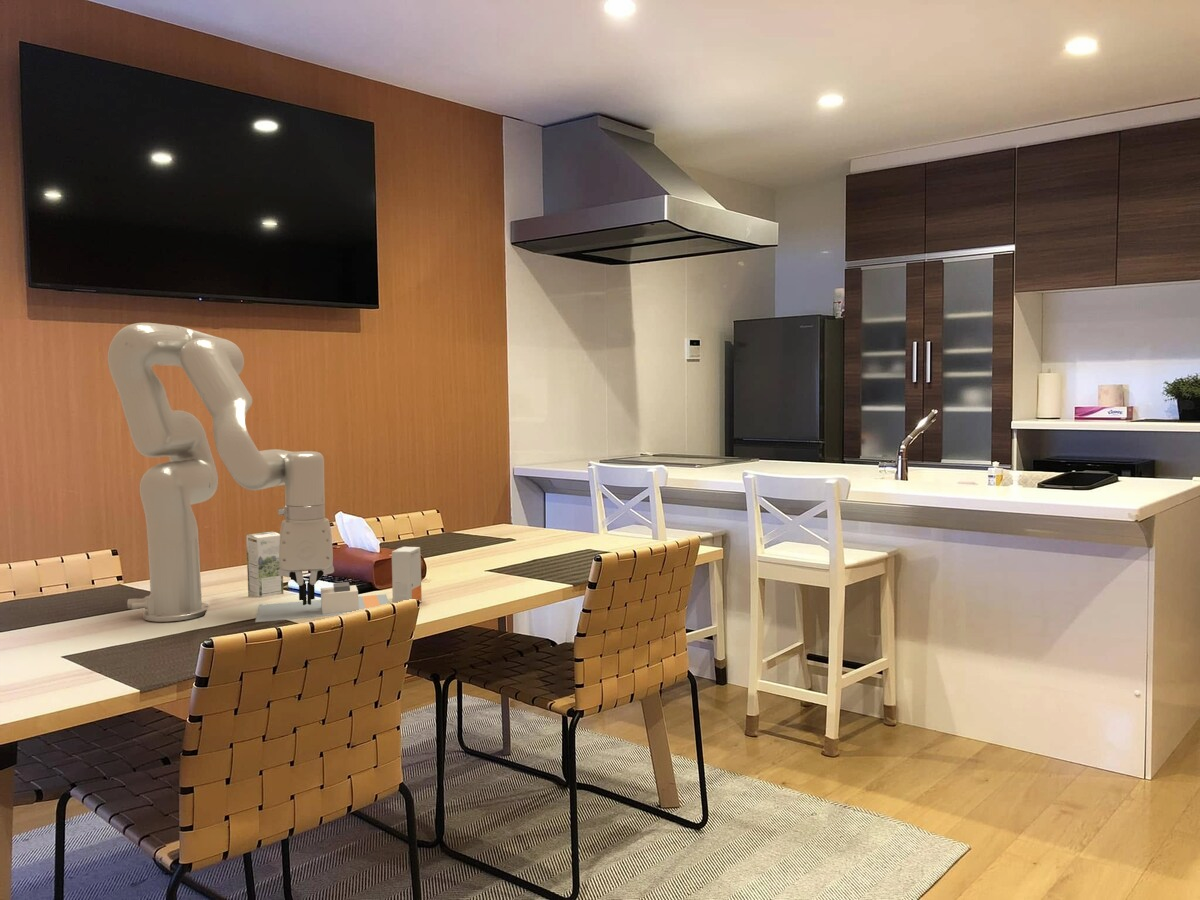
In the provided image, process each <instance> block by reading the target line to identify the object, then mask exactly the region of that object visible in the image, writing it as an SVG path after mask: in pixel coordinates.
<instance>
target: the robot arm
mask: <svg viewBox="0 0 1200 900" xmlns="http://www.w3.org/2000/svg"><path fill="white" fill-rule="evenodd" d="M107 365H108V368H109V369H108V370H109V373H110V375H111V378H112V381H113V383H114V386H115V388H116V390H117V393H118V396H119V399H120V402H121V407H122V410H123V414H124V417H125V420H126V424H127V426H128V430H129V434H130V437H131V439H132V443H133V446H134V447H135V449H136V451H137V452H138V453H139V454H140V455H142V456H144V457H147V458H164V457H168V460H169V462H168V461H167V462H162V463H159V464H155V465H154V466H152V467H150V468H149V469H147V470H146V471H145V472H144V474H143V475H142V477H141V479H140V482H139V496H140V499H141V504H142V508H143V512H144V516H145V524H146V538H147V549H148V552H147V553H148V554H147V555H148V568H149V569H148V571H149V587H150V594H149V595H147V596H144V597H143V598H128V599H127V609H129V610H130V609H132V610H140V609H144V610H145V611H143V613H142V615H143V616H142V617H143V618H142V619H144V620H145V621H147V622H148V621H149V622H155V623H157V622H158V623H159V622H160V623H161V622H163V623H165V622H167V623H168V622H170V623H171V622H178V621H185V620H191V619H195V618H199V617H203V616H205V615H206V613H207V611H208V609H209V608H210V607H211V606H210V604H209V603H205V602H203V601H202V600H203V599H202V582H201V562H200V561H201V560H200V543H199V540H200V539H199V527H198V523H197V522H198V521H197V519H196V516H195V514H194V511H193V508H192V505H195V504H197V505H198V504H200V503H204V502H207V501H208V500H210V499H211V498H212V497H213V496H214V495H215V493H216V492H217V490H218V486H219V476H218V475H219V474H218V471H217V467H216V464H215V460H214V457H213V454H212V451H211V446H210V444H209V441H208V437H207V433H206V431H205V428H204V426H203V424H202V423H201V422H200V420H199V419H198V418H197V417H196V416H195V415H194V414H192V413H190V412H188V411H185V410H181V409H179V410H178V409H176V410H175V409H172V407H171V405H170V401H169V399H168V396H167V391H166V388H165V386H164V384H163V382H162V381H161V379H160V378H159V377H158V375H157V374H156V373H155V372H154V370H153V367H154V366H173V367H180V368H182V370H183V371H184V373H185V374H186V376H187V378H188V379H189V381H190V383H191V385H192V386H193V387H194V389H195V392H196V393H197V395H198V396H199V397H200V399H201V401H202V403H203V404H204V406H205V407H206V410H207V411H208V412H209V414H210V416H211V418H212V434H213V438H214V444H215V448H216V451H217V454H218V456H219V457H220V460H222V461H221V462H222V463H223V464H224V466H225V467H226V470H227V471H228V472H229V475H230V476H231V477H232V478H233V480H234V481H235V482H236V483H237V484H238V485H239V486H241V487H242V488H244V489H246V490H248V491H249V490H250V491H259V490H264V489H269V488H273V487H279V486H284V490H285V491H284V492H285V495H284V496H285V497H284V498H285V499H284V500H285V506H283V507H280V508H279V507H278V508H277V516H283V517H284V518H285V519H282V521H281V524H280V530H279V532H280V533H279V534H280V543H279V564H280V568H279V572H278V574H279V576H283V578H290V579H291V580H292V581H293V582H295V583H296V585H297V586H298V600H299V601H303V605H306V604H309V605H311V601H312V600H316V599H315V596H316V595H315V593H316V592H315V591H316V590H315V585H316V583H317V582H318V581H319V580H320V579H321V578H322V577H323V576H327V575H330V574H333V573H334V572H335V568H334V565H333V561H334V560H333V559H334V556H333V554H334V553H333V551H334V550H333V537H332V530H331V523H330V520H329V518H326V509H325V508H326V507H325V506H326V503H325V501H326V498H325V497H326V496H325V493H326V492H325V491H326V490H325V488H326V487H325V457H324V455H323V454H322V453H320V451H319V452H318V451H314V450H313V451H310V450H304V451H291V450H284V449H279V448H274V449H273V448H272V449H264V450H259V449H258V447H257V445H256V444H255V443H254V441H253V439H252V437H251V435H250V434H249V431H248V429H247V428H248V427H247V423H246V416H247V413H248V411H249V409H250V408H251V407H252V404H253V397H252V395H251V393H250V392H249V390H248V389H247V387H246V386H245V384H244V383H243V381H242V379H241V377H240V376H239V375H241V372H242V371H243V369H244V365H245V358H244V354H243V352H242V350H241V348H240V347H239V346H238V345H237V344H236V343H234V342H232V341H231V340H229V339H226V338H223V337H218V336H215V335H211V334H209V333H205V332H202V331H199V330H194V329H192V328H188V327H184V326H180V325H174V324H173V325H172V324H164V323H155V322H153V323H152V322H136V323H131V324H128V325H126V326H124V327H122V328H121V329H120V330H119V331H117V333H116V334H115V335H114V337H113V338H112V340H111V341H110V344H109V347H108V350H107ZM308 571H309V573H310V574H309V579H308V580H307V583H306V579H304V574H303V572H308Z"/></svg>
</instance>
